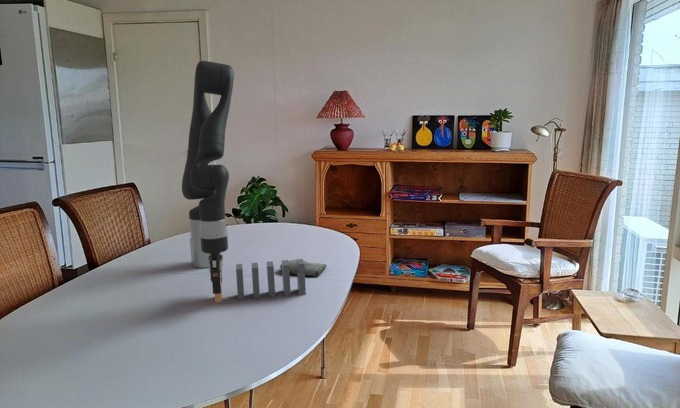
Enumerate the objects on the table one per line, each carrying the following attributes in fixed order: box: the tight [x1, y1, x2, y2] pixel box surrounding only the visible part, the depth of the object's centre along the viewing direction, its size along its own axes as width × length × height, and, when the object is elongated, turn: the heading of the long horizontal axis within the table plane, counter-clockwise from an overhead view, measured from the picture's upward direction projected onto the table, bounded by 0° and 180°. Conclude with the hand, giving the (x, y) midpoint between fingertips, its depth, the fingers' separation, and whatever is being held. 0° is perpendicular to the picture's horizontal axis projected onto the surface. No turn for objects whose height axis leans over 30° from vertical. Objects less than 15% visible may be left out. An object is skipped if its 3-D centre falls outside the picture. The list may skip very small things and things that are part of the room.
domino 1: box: [213, 274, 223, 304], centre depth 147 cm, size 2×5×10 cm, turn 11°
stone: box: [279, 259, 327, 278], centre depth 171 cm, size 11×4×15 cm
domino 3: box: [251, 262, 261, 300], centre depth 149 cm, size 2×5×10 cm, turn 11°
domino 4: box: [266, 261, 276, 299], centre depth 149 cm, size 2×5×10 cm, turn 11°
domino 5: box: [281, 259, 292, 297], centre depth 150 cm, size 2×5×10 cm, turn 11°
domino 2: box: [235, 263, 245, 301], centre depth 148 cm, size 2×5×10 cm, turn 11°
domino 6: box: [296, 258, 307, 296], centre depth 151 cm, size 2×5×10 cm, turn 11°
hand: (217, 288), depth 147 cm, fingers open, 8 cm apart
